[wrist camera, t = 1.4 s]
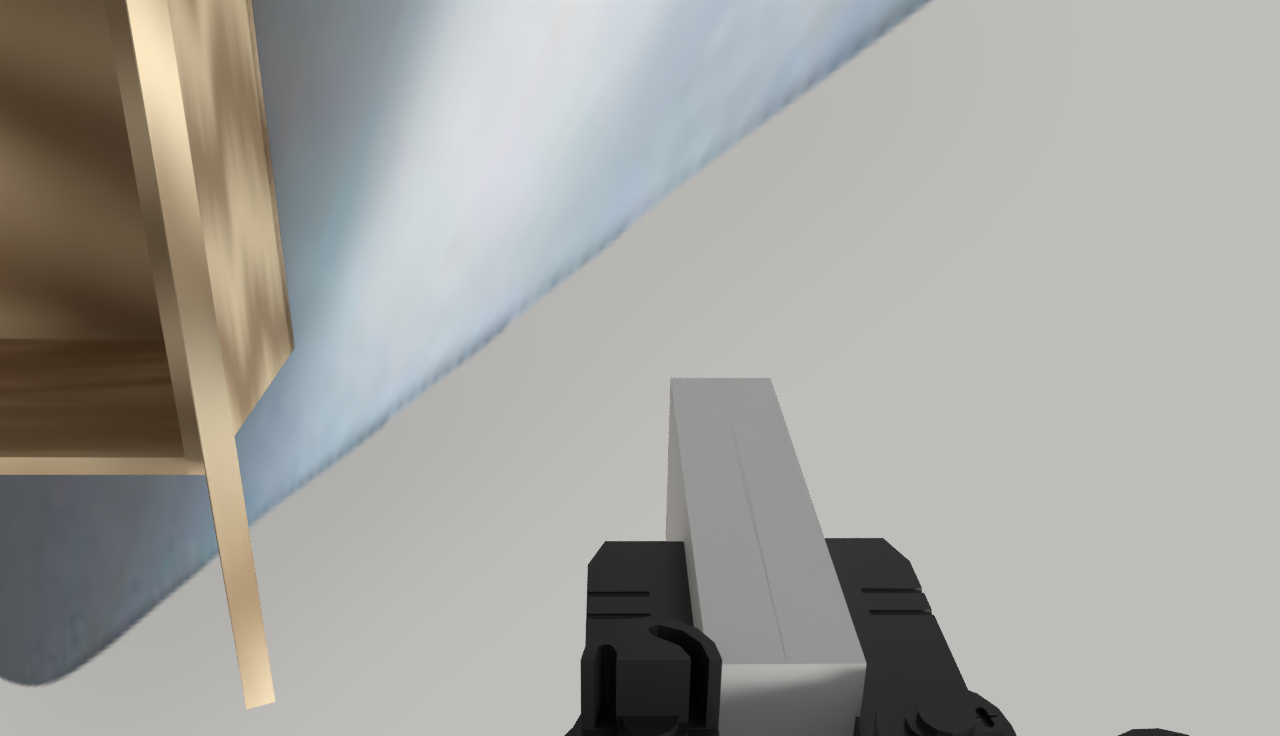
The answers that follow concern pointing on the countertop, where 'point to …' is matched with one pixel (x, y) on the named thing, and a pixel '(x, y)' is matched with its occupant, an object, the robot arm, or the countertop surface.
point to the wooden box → (126, 238)
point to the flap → (200, 334)
